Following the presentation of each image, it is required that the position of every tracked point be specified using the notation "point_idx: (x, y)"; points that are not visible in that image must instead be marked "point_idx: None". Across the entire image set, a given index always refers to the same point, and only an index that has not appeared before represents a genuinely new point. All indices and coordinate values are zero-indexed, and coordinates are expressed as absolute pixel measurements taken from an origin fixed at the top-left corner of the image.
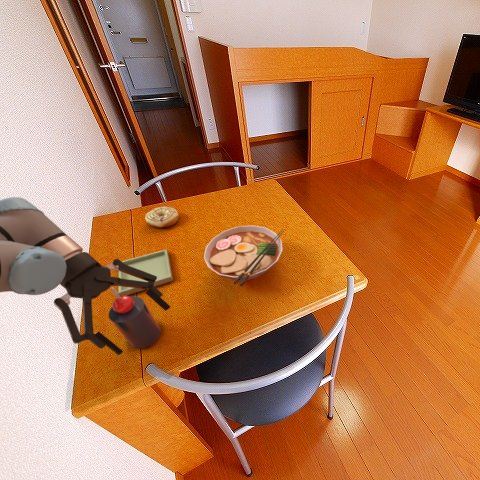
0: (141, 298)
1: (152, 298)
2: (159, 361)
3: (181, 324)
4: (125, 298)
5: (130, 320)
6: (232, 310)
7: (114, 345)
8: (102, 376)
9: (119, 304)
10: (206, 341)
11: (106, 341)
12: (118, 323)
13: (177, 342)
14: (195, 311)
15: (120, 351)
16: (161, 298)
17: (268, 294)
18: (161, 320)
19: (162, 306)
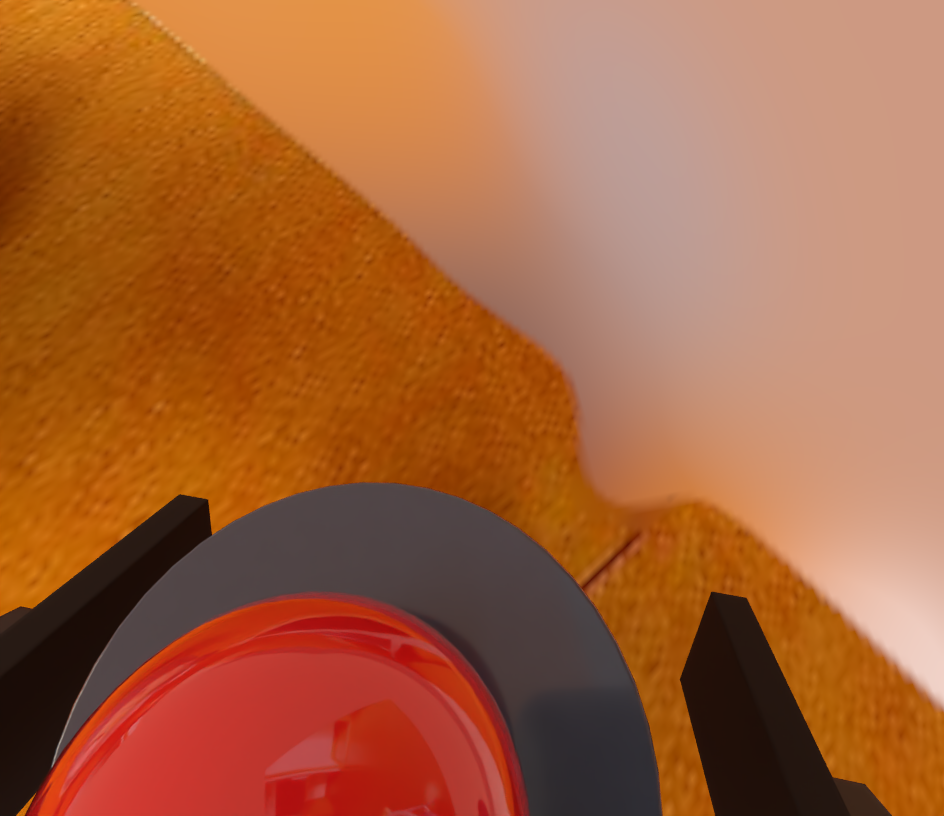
0: (88, 677)
1: None
2: (572, 448)
3: (302, 479)
4: (125, 767)
5: (526, 540)
6: (168, 250)
7: (754, 677)
8: None
9: (391, 797)
10: (387, 278)
11: (817, 773)
12: (636, 699)
13: (431, 423)
14: (188, 450)
15: (733, 608)
16: (77, 575)
17: (50, 136)
18: None
19: None
